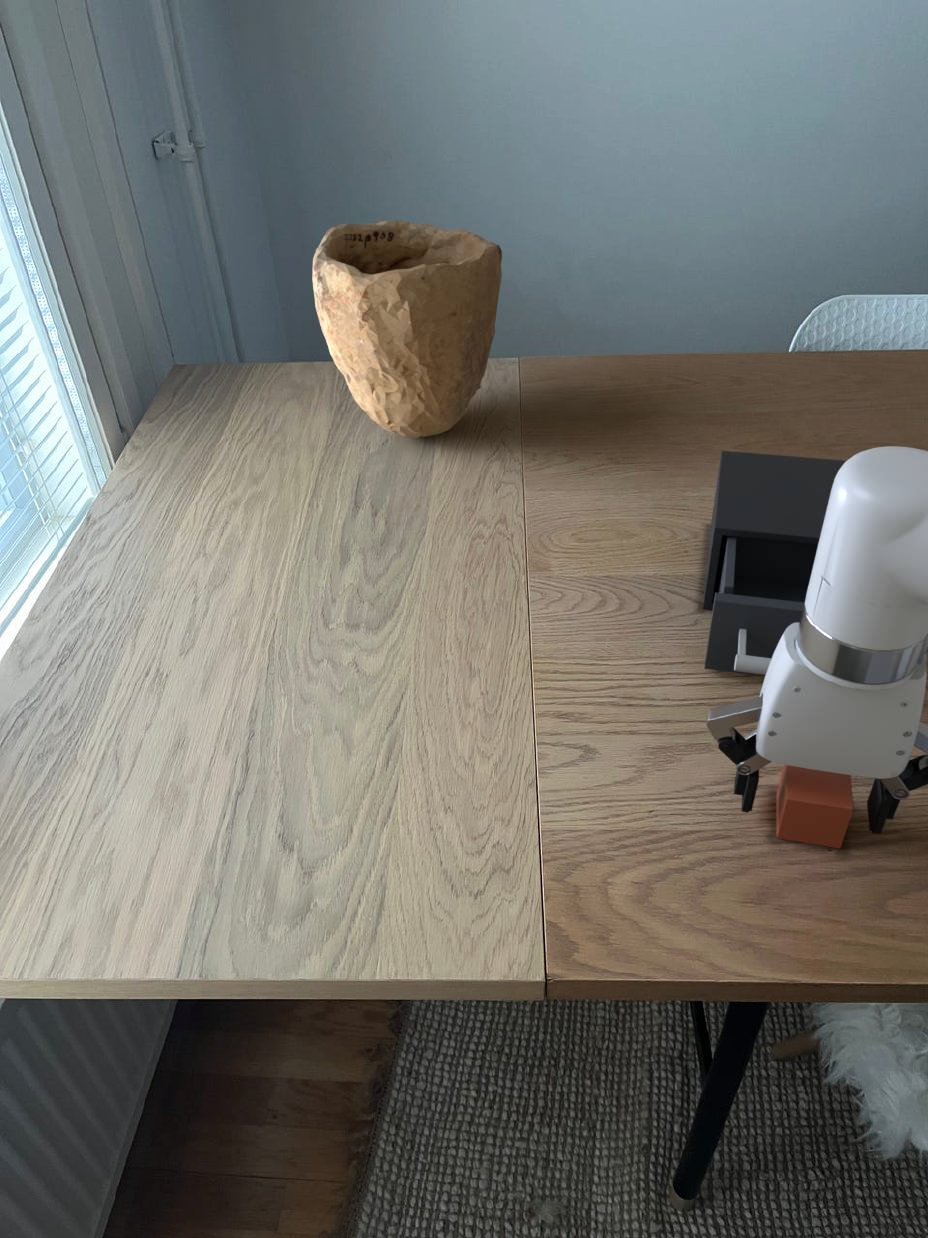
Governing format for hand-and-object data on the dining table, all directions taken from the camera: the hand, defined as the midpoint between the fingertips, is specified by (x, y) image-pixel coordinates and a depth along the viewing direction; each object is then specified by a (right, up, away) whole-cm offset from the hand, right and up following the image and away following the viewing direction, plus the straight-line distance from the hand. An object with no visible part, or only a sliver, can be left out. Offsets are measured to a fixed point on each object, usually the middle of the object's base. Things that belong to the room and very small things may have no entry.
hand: (808, 808), depth 72 cm
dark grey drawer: (+2, +12, +15) cm, 19 cm away
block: (0, -1, +1) cm, 1 cm away
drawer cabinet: (+5, +19, +25) cm, 32 cm away
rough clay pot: (-32, +39, +52) cm, 72 cm away
